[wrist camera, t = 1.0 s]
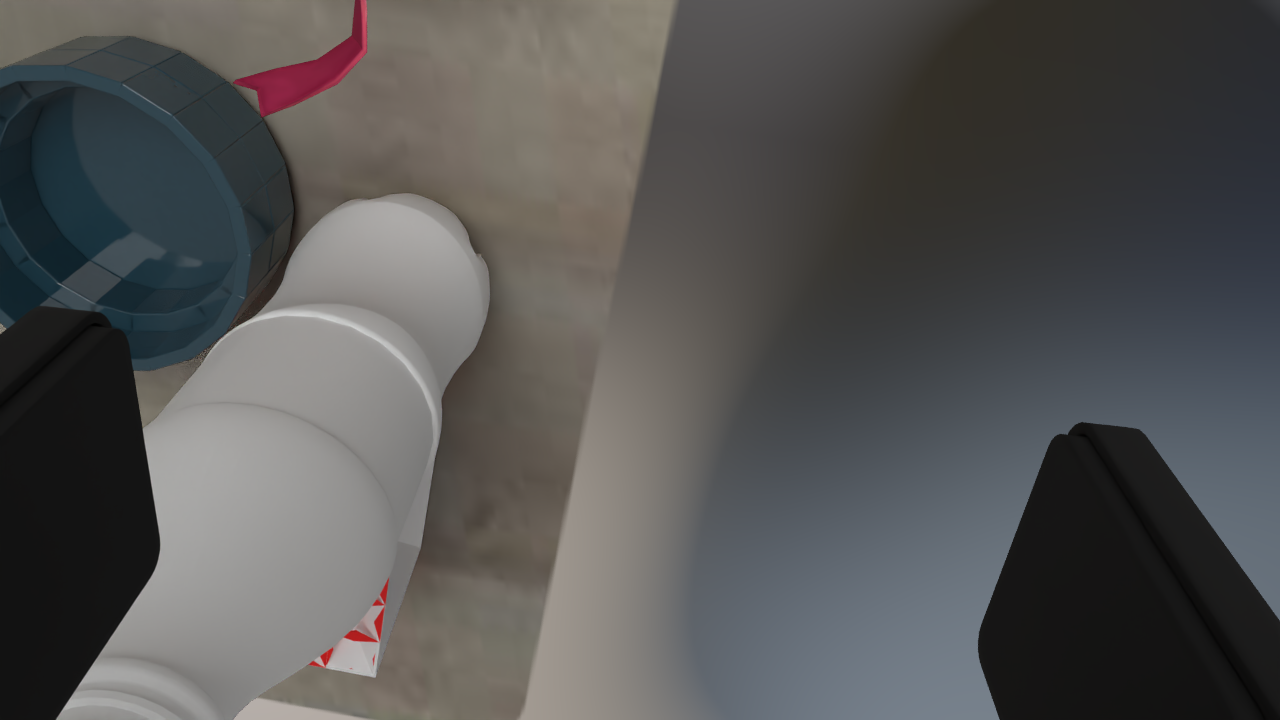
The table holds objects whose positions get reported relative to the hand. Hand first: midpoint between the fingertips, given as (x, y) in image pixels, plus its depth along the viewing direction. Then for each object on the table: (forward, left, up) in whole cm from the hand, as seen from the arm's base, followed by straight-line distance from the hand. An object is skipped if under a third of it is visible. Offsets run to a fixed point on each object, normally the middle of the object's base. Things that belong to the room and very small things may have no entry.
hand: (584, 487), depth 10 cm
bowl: (0, -20, -28) cm, 34 cm away
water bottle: (+6, -12, -28) cm, 31 cm away
